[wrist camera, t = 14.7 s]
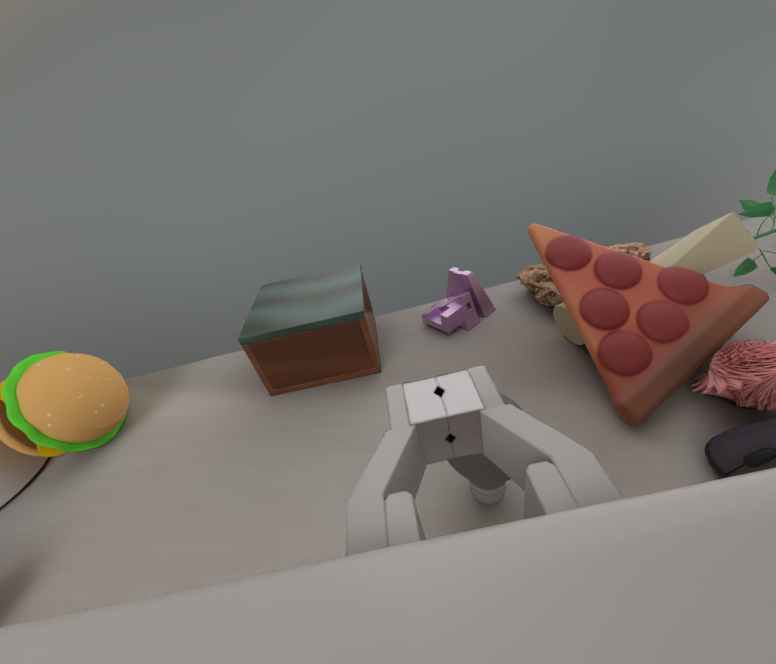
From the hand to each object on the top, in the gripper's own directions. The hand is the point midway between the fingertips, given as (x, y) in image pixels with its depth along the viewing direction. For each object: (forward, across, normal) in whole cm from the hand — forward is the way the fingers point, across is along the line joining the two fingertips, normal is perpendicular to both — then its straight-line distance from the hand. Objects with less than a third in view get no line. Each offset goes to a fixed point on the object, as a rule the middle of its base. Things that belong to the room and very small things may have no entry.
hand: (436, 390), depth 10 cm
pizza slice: (+13, -25, +17) cm, 32 cm away
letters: (+31, -7, +19) cm, 37 cm away
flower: (+8, -27, +18) cm, 34 cm away
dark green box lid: (+29, +11, +11) cm, 33 cm away
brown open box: (+29, +11, +19) cm, 36 cm away
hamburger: (+23, +43, +14) cm, 50 cm away
